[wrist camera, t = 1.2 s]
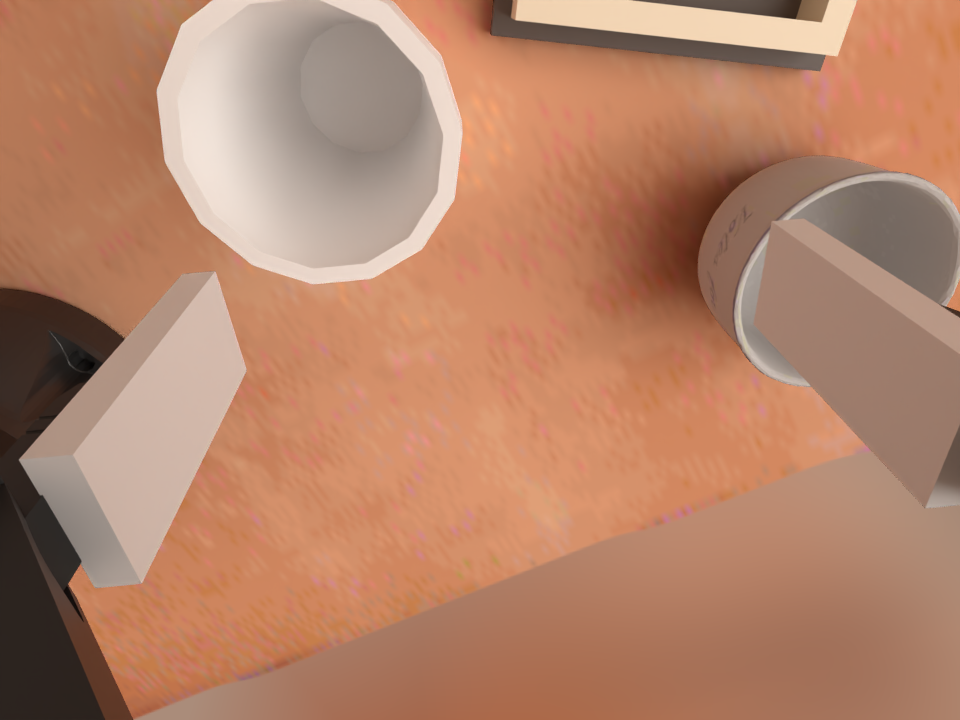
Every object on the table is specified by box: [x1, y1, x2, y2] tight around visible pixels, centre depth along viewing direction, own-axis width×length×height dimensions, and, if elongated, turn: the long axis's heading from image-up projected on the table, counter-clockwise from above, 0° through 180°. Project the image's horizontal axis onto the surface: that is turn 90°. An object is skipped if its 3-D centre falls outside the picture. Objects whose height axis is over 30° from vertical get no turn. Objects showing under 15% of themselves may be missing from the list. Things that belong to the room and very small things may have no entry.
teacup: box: [698, 156, 960, 387], centre depth 33 cm, size 14×11×8 cm
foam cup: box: [157, 0, 463, 284], centre depth 25 cm, size 10×9×13 cm
